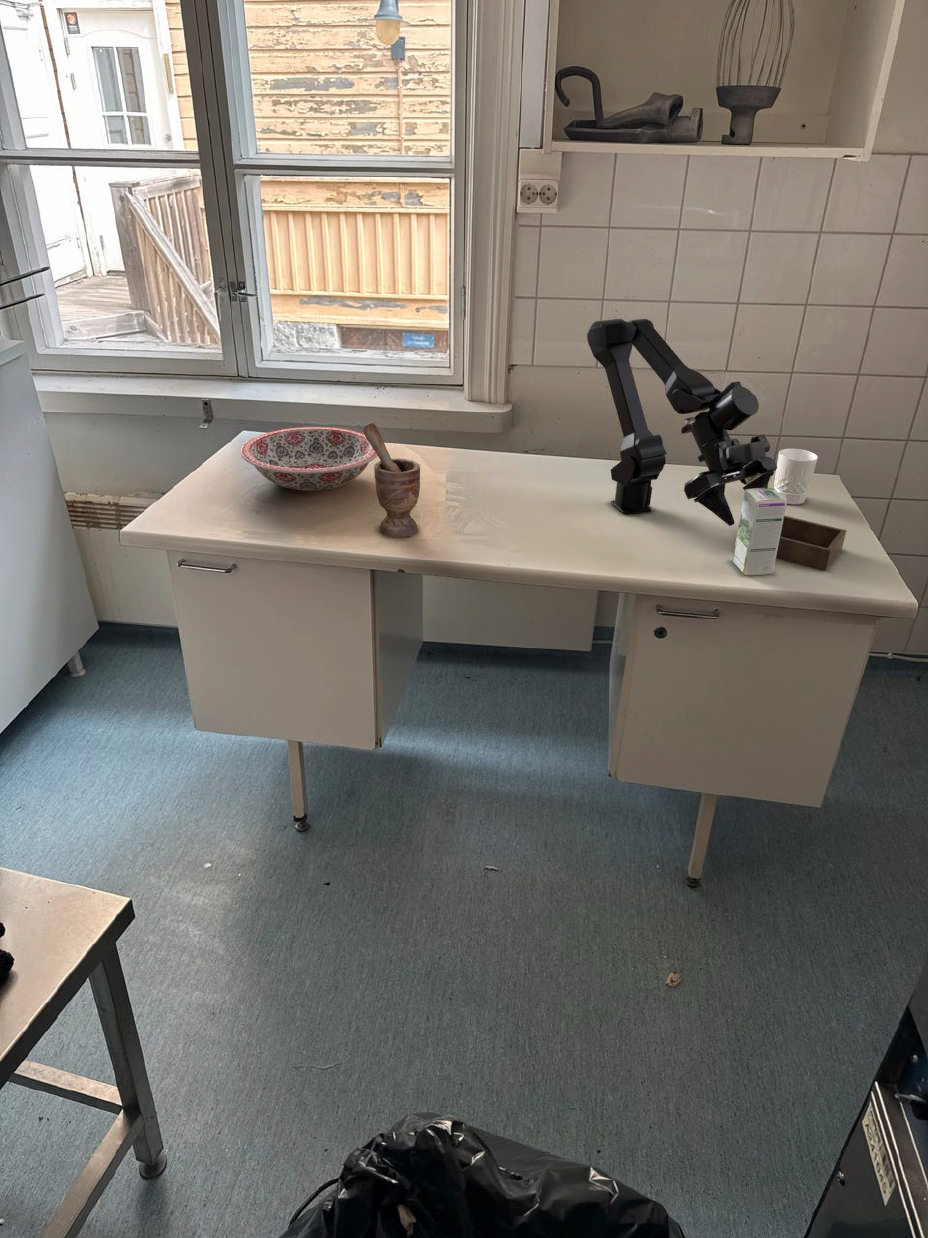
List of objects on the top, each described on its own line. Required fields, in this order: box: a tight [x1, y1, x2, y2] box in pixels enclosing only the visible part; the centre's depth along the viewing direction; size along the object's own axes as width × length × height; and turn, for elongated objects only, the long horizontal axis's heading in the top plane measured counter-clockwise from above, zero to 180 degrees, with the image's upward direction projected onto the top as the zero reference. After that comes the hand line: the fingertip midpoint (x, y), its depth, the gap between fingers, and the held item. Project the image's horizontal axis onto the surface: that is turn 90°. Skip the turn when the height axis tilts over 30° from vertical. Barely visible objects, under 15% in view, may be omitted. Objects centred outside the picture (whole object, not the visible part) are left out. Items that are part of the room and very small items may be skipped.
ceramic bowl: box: [240, 426, 378, 492], centre depth 193 cm, size 29×29×8 cm
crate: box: [776, 515, 847, 571], centre depth 171 cm, size 16×12×4 cm
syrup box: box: [731, 487, 788, 576], centre depth 161 cm, size 6×6×14 cm
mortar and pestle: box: [362, 422, 421, 537], centre depth 170 cm, size 12×9×20 cm
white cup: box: [773, 448, 819, 505], centre depth 193 cm, size 8×8×10 cm
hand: (750, 519), depth 162 cm, fingers open, 9 cm apart
